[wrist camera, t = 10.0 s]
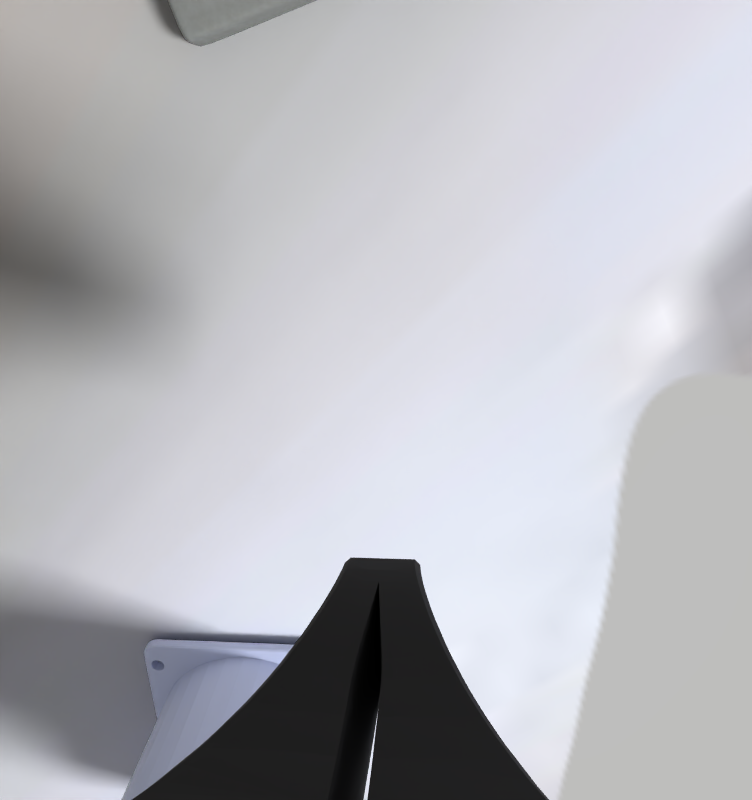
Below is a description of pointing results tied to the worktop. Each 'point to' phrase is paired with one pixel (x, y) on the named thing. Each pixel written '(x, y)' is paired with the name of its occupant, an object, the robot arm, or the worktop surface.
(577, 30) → the worktop surface
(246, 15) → the grey flat tray
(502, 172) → the worktop surface
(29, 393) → the worktop surface
